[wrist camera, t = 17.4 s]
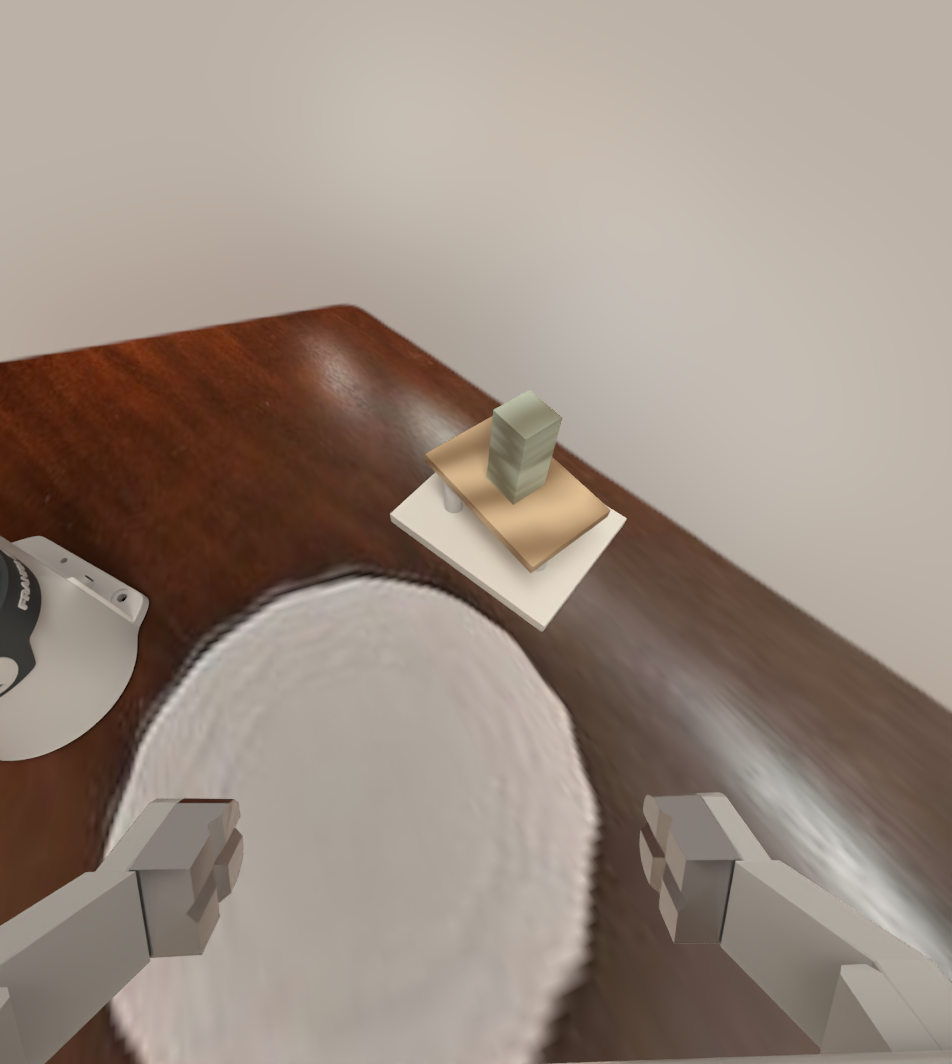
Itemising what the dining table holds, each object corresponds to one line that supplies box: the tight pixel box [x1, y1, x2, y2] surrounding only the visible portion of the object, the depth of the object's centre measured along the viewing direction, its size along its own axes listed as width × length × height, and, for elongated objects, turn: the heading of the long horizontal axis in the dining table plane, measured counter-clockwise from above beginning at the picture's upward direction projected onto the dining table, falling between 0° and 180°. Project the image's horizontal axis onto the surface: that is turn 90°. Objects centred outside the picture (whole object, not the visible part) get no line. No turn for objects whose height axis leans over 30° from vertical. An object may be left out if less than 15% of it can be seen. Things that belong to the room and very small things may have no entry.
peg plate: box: [390, 472, 627, 632], centre depth 52 cm, size 20×16×6 cm
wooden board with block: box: [425, 390, 610, 573], centre depth 45 cm, size 16×10×10 cm, turn 39°
